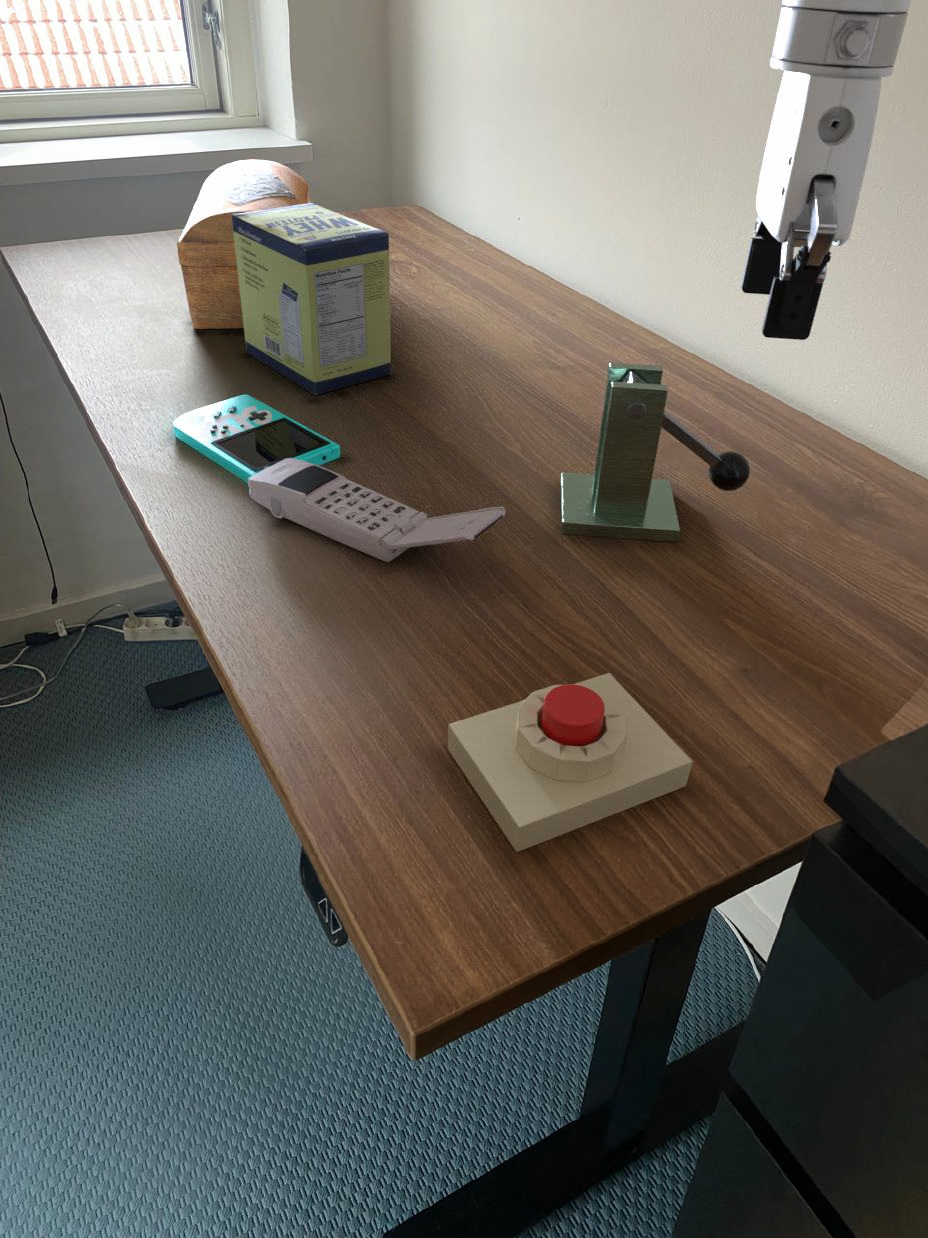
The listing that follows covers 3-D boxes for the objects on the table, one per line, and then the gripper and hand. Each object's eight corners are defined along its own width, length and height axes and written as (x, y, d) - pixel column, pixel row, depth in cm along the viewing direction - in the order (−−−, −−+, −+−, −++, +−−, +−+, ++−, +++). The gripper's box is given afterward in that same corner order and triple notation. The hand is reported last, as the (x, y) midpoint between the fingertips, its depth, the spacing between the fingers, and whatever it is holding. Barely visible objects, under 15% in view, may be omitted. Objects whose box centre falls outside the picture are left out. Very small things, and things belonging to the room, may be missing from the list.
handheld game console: (249, 402, 98) (247, 390, 97) (344, 456, 90) (344, 443, 89) (164, 430, 93) (162, 417, 92) (258, 490, 84) (256, 476, 83)
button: (580, 698, 57) (583, 677, 56) (612, 736, 55) (616, 714, 54) (530, 715, 56) (532, 694, 55) (561, 754, 54) (564, 732, 53)
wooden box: (320, 329, 116) (313, 212, 107) (185, 330, 114) (167, 210, 106) (323, 258, 139) (317, 157, 131) (211, 257, 138) (198, 155, 129)
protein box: (318, 334, 115) (310, 200, 105) (393, 375, 105) (392, 232, 96) (243, 352, 109) (228, 212, 100) (315, 397, 100) (306, 247, 90)
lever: (725, 486, 82) (754, 459, 81) (731, 505, 80) (761, 478, 78) (607, 393, 78) (634, 362, 76) (609, 410, 75) (637, 378, 74)
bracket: (667, 490, 86) (693, 358, 79) (677, 542, 79) (707, 402, 71) (560, 483, 87) (575, 350, 79) (561, 534, 80) (577, 394, 72)
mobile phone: (469, 540, 68) (221, 436, 78) (463, 604, 71) (227, 498, 81) (511, 507, 72) (270, 413, 82) (504, 570, 75) (274, 472, 85)
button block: (605, 696, 63) (613, 651, 61) (686, 786, 57) (698, 740, 54) (447, 749, 59) (448, 702, 56) (516, 853, 52) (521, 805, 50)
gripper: (940, 62, 51) (851, 361, 62) (862, 33, 65) (800, 281, 75) (802, 56, 52) (737, 353, 62) (754, 28, 65) (707, 275, 76)
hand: (772, 313), depth 69 cm, fingers open, 9 cm apart
